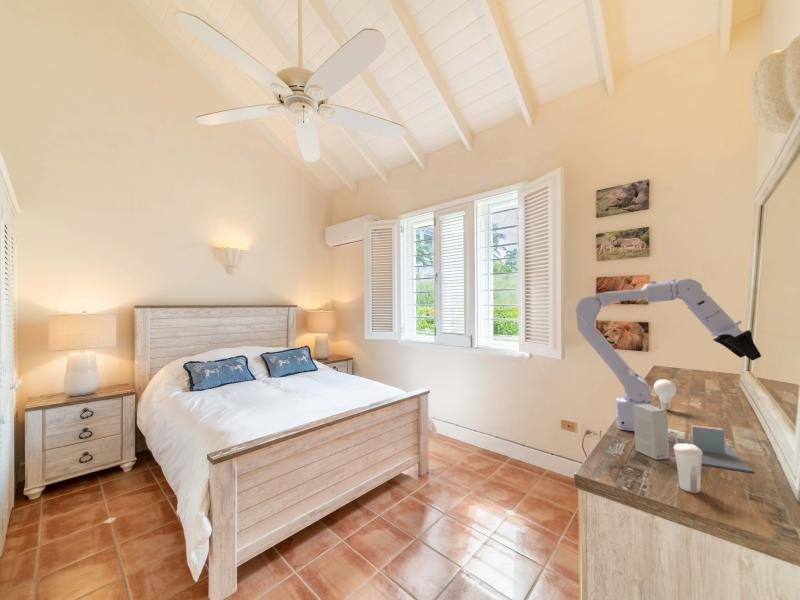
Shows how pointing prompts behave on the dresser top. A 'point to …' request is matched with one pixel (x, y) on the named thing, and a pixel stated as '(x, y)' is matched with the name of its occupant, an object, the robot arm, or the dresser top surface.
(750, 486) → the dresser top surface
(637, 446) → the skincare box
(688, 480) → the milkshake
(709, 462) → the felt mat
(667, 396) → the lightbulb
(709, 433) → the tile
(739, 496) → the dresser top surface
